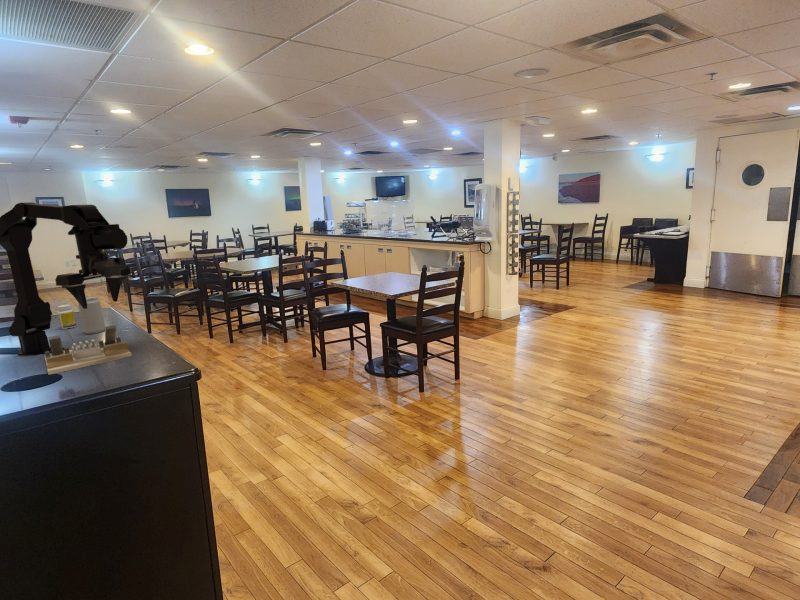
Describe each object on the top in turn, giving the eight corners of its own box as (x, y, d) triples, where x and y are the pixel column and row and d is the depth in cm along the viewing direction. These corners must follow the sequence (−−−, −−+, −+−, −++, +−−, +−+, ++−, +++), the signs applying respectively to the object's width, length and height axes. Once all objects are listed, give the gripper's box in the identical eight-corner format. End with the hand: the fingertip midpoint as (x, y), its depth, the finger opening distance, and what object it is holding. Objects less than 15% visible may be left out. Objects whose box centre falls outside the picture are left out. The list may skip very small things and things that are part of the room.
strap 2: (105, 345, 142) (104, 342, 142) (115, 343, 144) (114, 340, 144) (105, 329, 133) (104, 325, 134) (116, 327, 135) (115, 323, 135)
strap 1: (51, 356, 134) (51, 353, 134) (63, 354, 136) (63, 350, 136) (48, 340, 125) (47, 336, 126) (61, 337, 127) (60, 333, 127)
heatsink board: (45, 358, 137) (41, 345, 136) (119, 342, 148) (117, 330, 148) (48, 374, 122) (45, 359, 121) (131, 356, 133) (129, 342, 132)
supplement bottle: (79, 326, 177) (75, 304, 175) (67, 329, 173) (62, 307, 171) (70, 326, 179) (65, 304, 177) (58, 329, 174) (53, 307, 173)
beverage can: (95, 334, 162) (88, 300, 160) (79, 334, 163) (72, 300, 161) (110, 329, 168) (103, 296, 166) (94, 329, 170) (87, 296, 167)
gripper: (77, 254, 121) (89, 313, 125) (140, 246, 138) (149, 298, 142) (48, 254, 125) (60, 312, 129) (112, 246, 142) (122, 298, 146)
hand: (100, 305), depth 136 cm, fingers open, 9 cm apart
